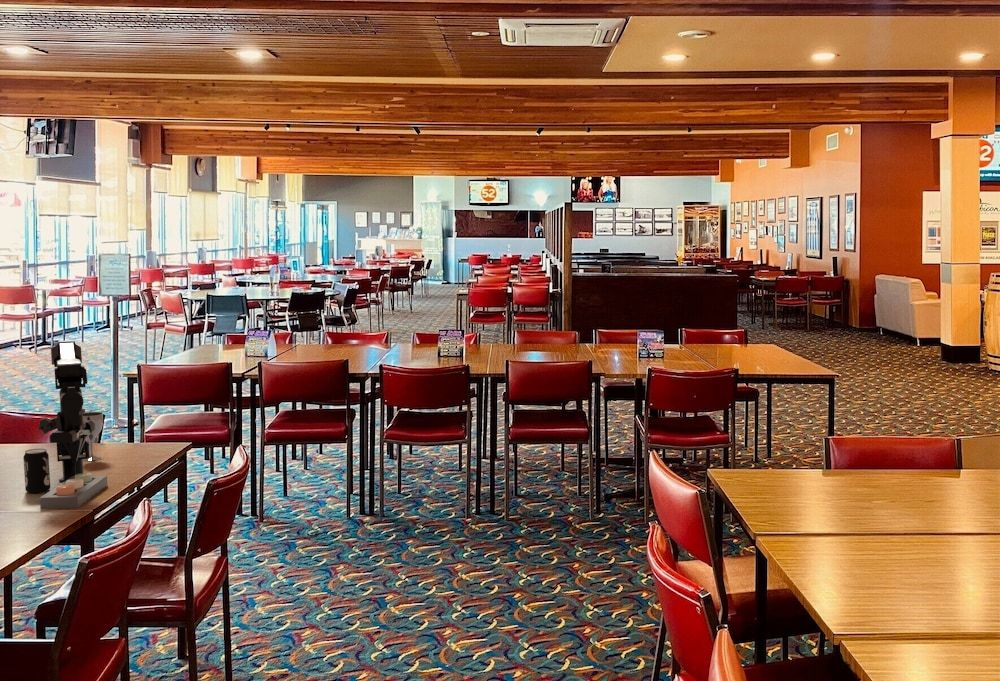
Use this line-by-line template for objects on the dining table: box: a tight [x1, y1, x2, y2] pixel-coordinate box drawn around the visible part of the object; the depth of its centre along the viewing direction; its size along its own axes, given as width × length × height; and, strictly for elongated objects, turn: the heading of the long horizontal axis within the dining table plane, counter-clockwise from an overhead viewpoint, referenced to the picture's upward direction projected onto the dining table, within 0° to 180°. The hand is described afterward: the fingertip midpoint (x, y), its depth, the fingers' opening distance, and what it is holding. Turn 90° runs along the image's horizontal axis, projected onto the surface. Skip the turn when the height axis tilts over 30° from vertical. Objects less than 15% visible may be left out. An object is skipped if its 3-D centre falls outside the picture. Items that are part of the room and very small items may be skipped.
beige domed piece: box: [66, 479, 84, 489], centre depth 291 cm, size 5×5×4 cm
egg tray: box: [39, 475, 108, 509], centre depth 291 cm, size 24×10×3 cm, turn 3°
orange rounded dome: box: [55, 485, 75, 495], centre depth 284 cm, size 5×5×4 cm
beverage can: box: [22, 448, 51, 495], centre depth 297 cm, size 7×7×12 cm
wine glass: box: [82, 411, 104, 462], centre depth 338 cm, size 8×8×15 cm
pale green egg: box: [75, 472, 93, 482], centre depth 298 cm, size 5×5×4 cm
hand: (74, 461), depth 290 cm, fingers closed
